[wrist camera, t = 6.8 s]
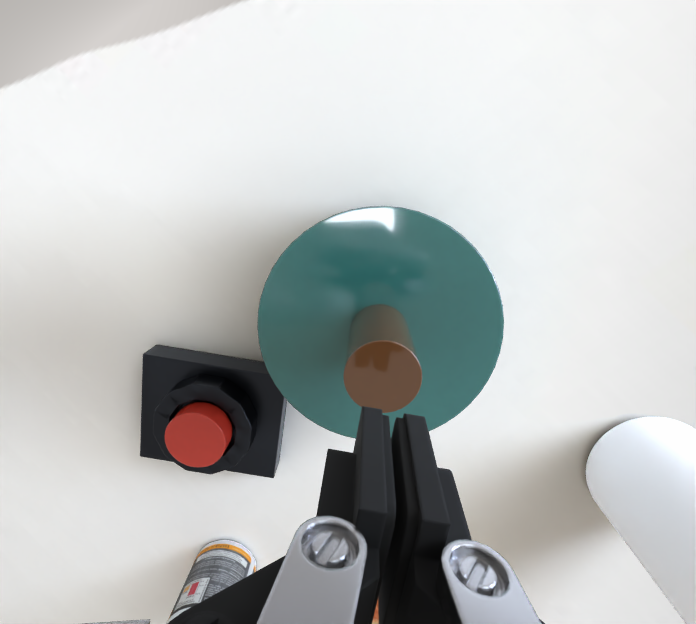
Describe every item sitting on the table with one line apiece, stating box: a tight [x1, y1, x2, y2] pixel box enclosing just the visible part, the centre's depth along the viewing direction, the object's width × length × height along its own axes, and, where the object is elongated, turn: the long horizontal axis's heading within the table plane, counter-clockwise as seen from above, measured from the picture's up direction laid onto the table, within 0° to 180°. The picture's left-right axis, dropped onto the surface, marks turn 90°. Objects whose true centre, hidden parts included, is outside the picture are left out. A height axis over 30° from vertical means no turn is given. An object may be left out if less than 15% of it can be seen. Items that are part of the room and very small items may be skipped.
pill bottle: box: [167, 540, 256, 624], centre depth 35 cm, size 6×6×10 cm
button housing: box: [140, 345, 287, 478], centre depth 33 cm, size 11×9×4 cm
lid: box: [258, 206, 504, 438], centre depth 19 cm, size 12×12×7 cm
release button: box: [165, 402, 232, 467], centre depth 31 cm, size 4×4×2 cm
